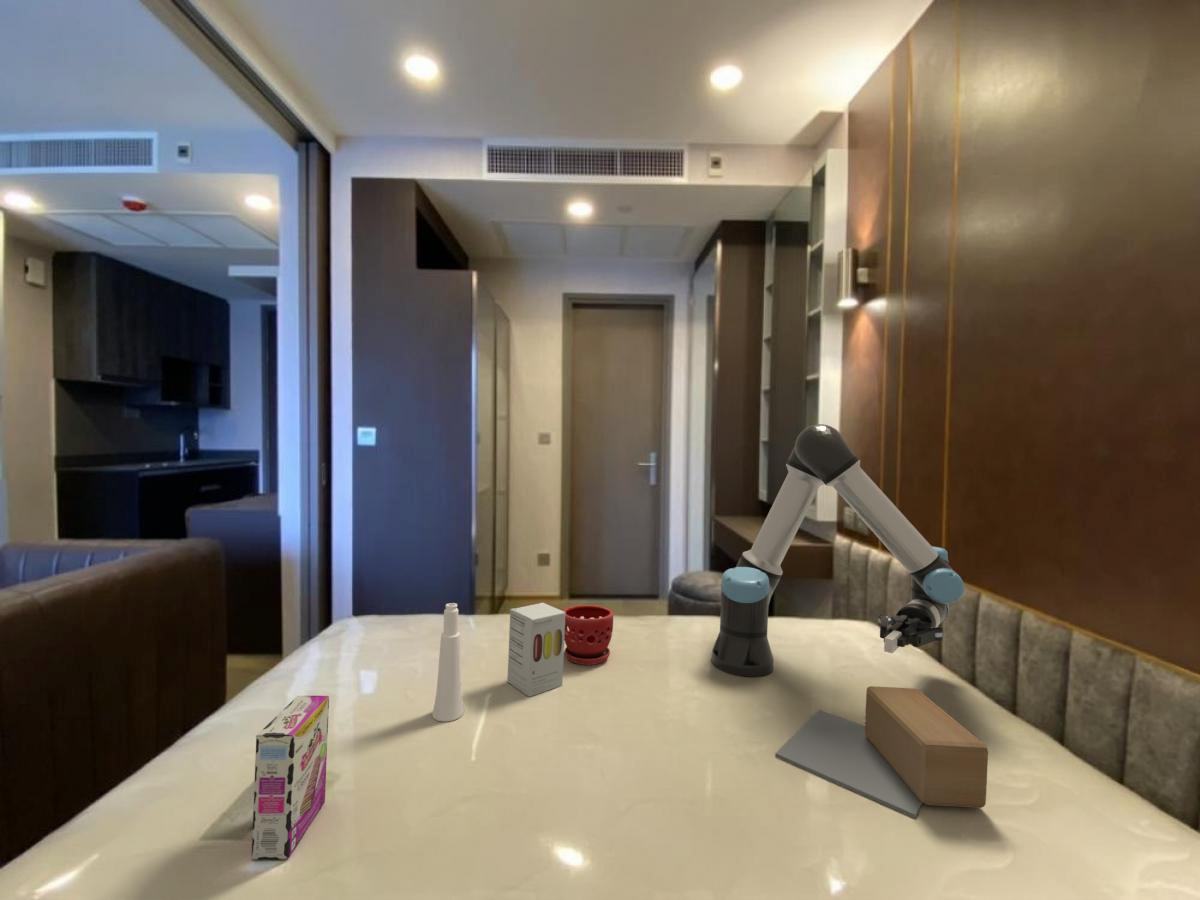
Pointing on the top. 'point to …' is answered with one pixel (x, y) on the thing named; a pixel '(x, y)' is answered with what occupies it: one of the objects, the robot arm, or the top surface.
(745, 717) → the top surface
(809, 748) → the mat
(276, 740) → the candy bar box
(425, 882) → the top surface
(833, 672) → the top surface
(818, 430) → the robot arm
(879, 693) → the wooden block
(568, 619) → the plant pot
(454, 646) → the cosmetic bottle
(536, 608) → the supplement box
